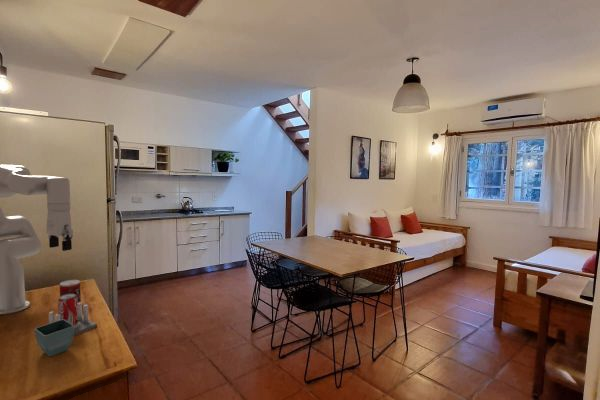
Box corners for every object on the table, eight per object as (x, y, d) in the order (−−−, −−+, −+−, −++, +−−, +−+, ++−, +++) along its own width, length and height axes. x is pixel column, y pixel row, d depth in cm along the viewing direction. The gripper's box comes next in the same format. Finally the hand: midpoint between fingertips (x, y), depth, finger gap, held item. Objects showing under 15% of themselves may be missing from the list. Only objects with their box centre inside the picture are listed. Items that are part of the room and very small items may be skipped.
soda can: (70, 320, 129) (69, 292, 128) (82, 322, 127) (81, 294, 126) (54, 327, 123) (53, 297, 122) (67, 330, 121) (65, 300, 120)
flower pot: (45, 362, 104) (44, 336, 103) (34, 353, 108) (33, 328, 108) (75, 350, 111) (74, 325, 110) (64, 342, 116) (63, 318, 115)
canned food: (70, 309, 142) (69, 286, 141) (55, 307, 144) (54, 284, 143) (85, 303, 149) (84, 280, 149) (71, 301, 151) (70, 278, 150)
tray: (38, 330, 124) (37, 309, 123) (74, 317, 135) (74, 298, 135) (60, 341, 116) (59, 319, 116) (97, 326, 128) (96, 306, 127)
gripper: (37, 206, 130) (39, 247, 131) (60, 209, 122) (61, 253, 123) (58, 205, 136) (59, 244, 138) (81, 208, 128) (82, 249, 130)
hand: (60, 248), depth 130 cm, fingers open, 9 cm apart
